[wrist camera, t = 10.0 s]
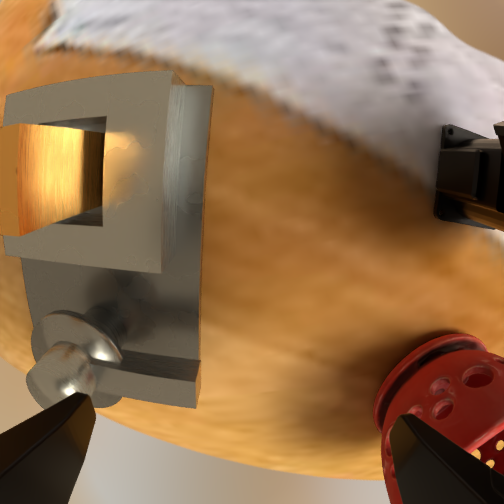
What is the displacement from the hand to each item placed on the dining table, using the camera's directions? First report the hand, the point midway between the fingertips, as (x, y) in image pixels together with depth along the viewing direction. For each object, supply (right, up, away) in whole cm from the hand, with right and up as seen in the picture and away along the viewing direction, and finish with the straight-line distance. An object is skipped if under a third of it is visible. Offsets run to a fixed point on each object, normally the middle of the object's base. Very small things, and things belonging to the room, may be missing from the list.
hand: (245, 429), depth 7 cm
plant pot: (+15, -6, +15) cm, 22 cm away
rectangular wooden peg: (-9, +10, +9) cm, 16 cm away
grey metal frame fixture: (-10, +5, +11) cm, 16 cm away
